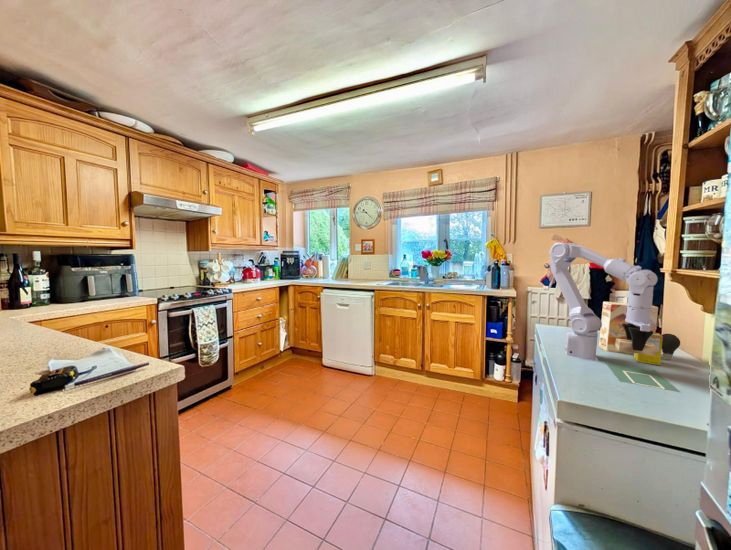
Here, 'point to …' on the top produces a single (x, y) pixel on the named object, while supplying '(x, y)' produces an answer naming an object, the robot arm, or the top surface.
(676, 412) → the top surface
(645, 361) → the supplement box
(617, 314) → the coffeecake box
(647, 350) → the slotted wooden block
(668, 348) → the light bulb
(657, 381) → the green mat
